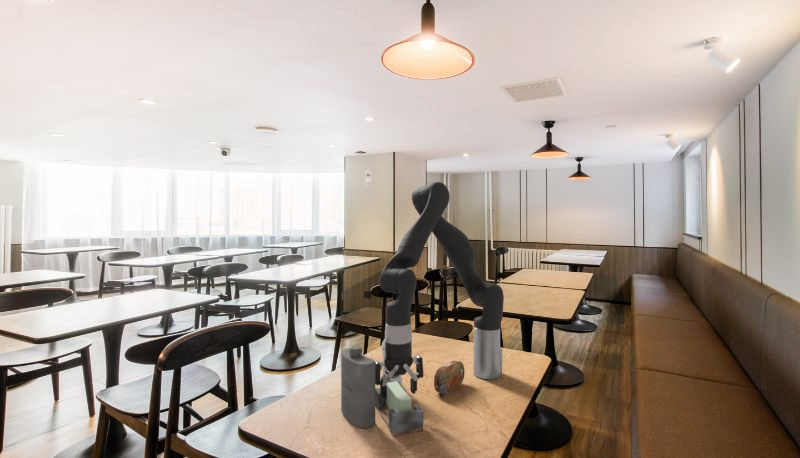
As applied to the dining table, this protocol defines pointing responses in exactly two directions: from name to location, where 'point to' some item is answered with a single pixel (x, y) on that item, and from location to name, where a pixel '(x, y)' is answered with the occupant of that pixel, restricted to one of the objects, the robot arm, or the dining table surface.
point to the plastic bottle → (394, 378)
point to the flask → (358, 387)
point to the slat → (397, 398)
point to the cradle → (399, 417)
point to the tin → (449, 377)
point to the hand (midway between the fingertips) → (398, 395)
